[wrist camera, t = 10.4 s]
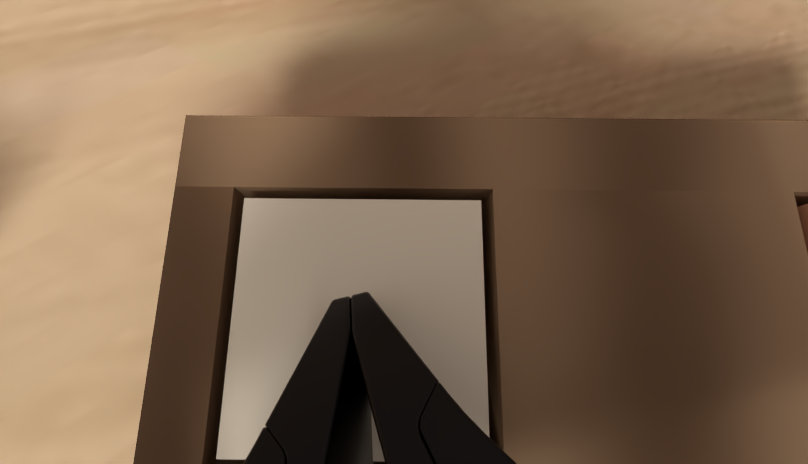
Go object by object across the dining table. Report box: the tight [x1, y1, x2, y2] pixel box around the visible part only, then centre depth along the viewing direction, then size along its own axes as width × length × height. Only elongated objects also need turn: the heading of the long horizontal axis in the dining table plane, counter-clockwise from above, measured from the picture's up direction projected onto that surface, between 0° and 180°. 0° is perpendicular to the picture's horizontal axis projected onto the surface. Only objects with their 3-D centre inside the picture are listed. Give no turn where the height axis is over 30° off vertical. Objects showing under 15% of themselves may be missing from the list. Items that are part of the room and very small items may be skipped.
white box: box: [216, 198, 490, 462], centre depth 13 cm, size 6×6×7 cm
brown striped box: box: [133, 115, 808, 464], centre depth 13 cm, size 24×11×7 cm, turn 89°
